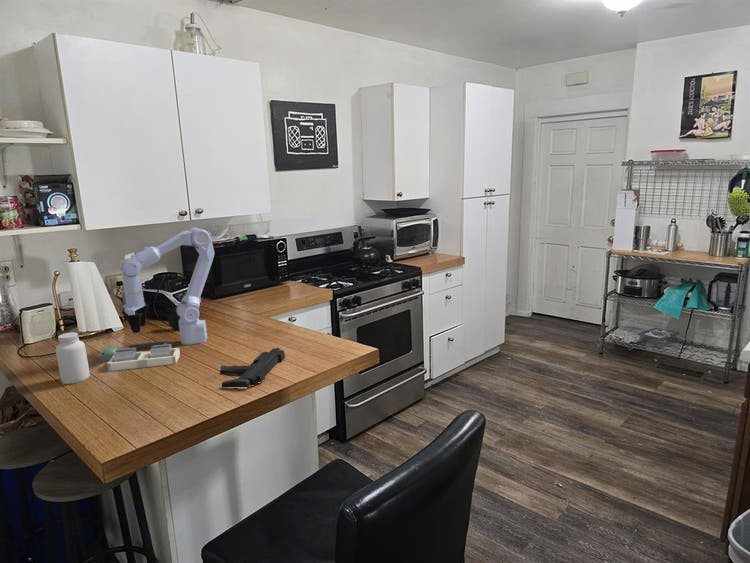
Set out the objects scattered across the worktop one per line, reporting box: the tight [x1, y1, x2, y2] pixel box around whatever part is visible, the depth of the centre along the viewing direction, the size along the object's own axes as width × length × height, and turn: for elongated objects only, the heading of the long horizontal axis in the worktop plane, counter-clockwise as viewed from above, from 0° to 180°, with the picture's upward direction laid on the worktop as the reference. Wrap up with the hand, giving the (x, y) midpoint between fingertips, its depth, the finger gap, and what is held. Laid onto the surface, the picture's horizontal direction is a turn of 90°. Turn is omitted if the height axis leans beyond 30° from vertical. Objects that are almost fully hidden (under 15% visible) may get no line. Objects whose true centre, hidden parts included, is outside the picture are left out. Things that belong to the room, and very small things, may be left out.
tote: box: [123, 340, 169, 350], centre depth 175 cm, size 14×12×2 cm
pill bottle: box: [55, 331, 91, 385], centre depth 154 cm, size 8×8×15 cm
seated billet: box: [149, 343, 173, 358], centre depth 166 cm, size 4×6×5 cm, turn 103°
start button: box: [103, 346, 118, 355], centre depth 171 cm, size 4×4×3 cm
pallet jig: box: [106, 347, 181, 372], centre depth 165 cm, size 21×9×4 cm, turn 103°
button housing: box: [98, 347, 123, 364], centre depth 171 cm, size 6×6×3 cm
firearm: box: [219, 347, 286, 388], centre depth 160 cm, size 3×30×20 cm
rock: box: [166, 307, 202, 330], centre depth 203 cm, size 13×4×10 cm, turn 91°
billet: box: [113, 348, 138, 362], centre depth 164 cm, size 4×6×5 cm, turn 103°
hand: (139, 329), depth 174 cm, fingers open, 7 cm apart
